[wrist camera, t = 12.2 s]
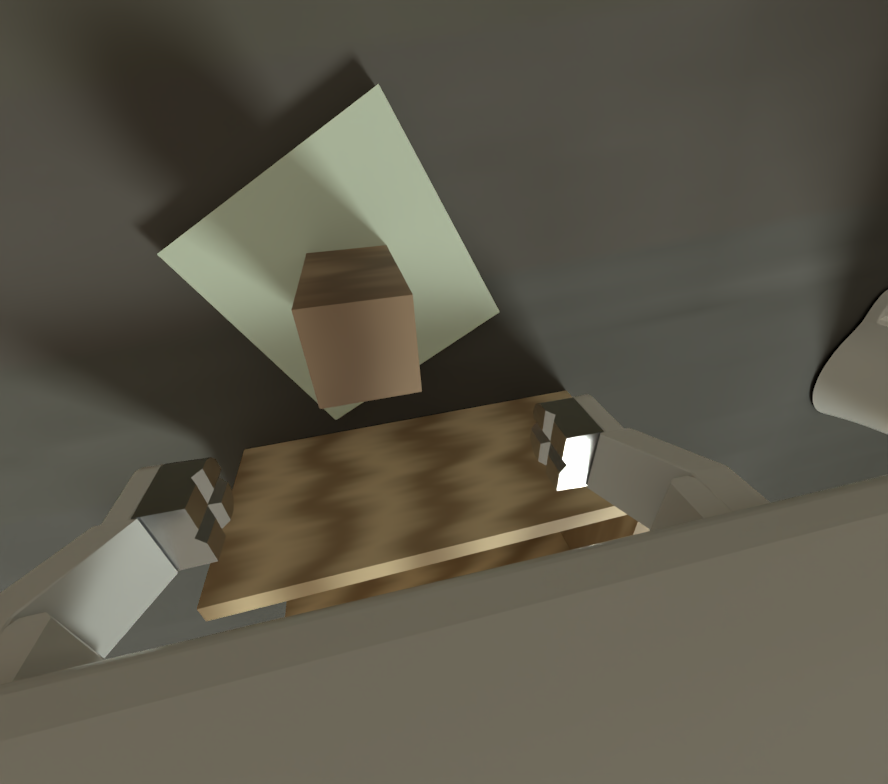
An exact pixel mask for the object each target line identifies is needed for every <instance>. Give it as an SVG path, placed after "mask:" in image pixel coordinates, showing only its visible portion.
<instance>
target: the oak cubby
mask: <svg viewBox="0 0 888 784" xmlns="http://www.w3.org/2000/svg"><path fill="white" fill-rule="evenodd" d="M570 397H572V396H571V395H570V394H569V393H568V392H567V391H560V392H555V393H550V394H544V395H539V396H533V397H528V398H522V399H517V400H511V401H506V402H501V403H495V404H490V405H484V406H479V407H473V408H468V409H463V410H457V411H452V412H446V413H441V414H435V415H430V416H424V417H419V418H414V419H408V420H403V421H397V422H392V423H386V424H381V425H375V426H370V427H365V428H359V429H354V430H348V431H343V432H337V433H332V434H326V435H321V436H316V437H310V438H305V439H299V440H294V441H288V442H283V443H277V444H272V445H267V446H261V447H256V448H250V449H245V450H244V452H243V456H242V459H241V463H240V466H239V469H238V473H237V476H236V479H235V483H234V486H233V489H232V494H233V498H234V509H233V514H232V517H231V520H230V521H229V522H228V523H227V524H226V525H225V526H224V527H223V528H222V530H223V532H224V533H225V535H226V538H225V541H224V544H223V548H222V551H221V554H220V558H219V561H217V562H213V563H210V567H209V570H208V573H207V577H206V580H205V583H204V587H203V590H202V593H201V597H200V600H199V604H198V607H197V610H198V611H199V613H200V614H201V615H202V616H203V618H204V619H205V620H206V621H210V620H214V619H218V618H222V617H225V616H229V615H233V614H237V613H241V612H245V611H249V610H253V609H257V608H261V607H265V606H269V605H273V604H277V603H281V602H285V601H287V605H286V614H285V617H288V616H292V615H297V614H301V613H305V612H309V611H314V610H318V609H322V608H326V607H331V606H335V605H339V604H343V603H347V602H352V601H356V600H360V599H364V598H369V597H373V596H377V595H381V594H386V593H390V592H394V591H398V590H403V589H407V588H411V587H415V586H420V585H424V584H428V583H432V582H437V581H441V580H445V579H449V578H454V577H458V576H462V575H466V574H471V573H475V572H479V571H483V570H487V569H492V568H496V567H500V566H504V565H509V564H513V563H517V562H521V561H525V560H530V559H534V558H538V557H542V556H546V555H551V554H555V553H559V552H563V551H567V550H572V549H576V548H580V547H584V546H589V545H593V544H597V543H601V542H606V541H610V540H614V539H618V538H623V537H627V536H631V535H635V534H640V533H644V532H648V531H649V528H647V527H646V526H644V525H643V524H641V523H640V522H638V521H636V520H635V519H633V518H632V517H630V516H629V515H627V514H626V513H624V512H623V511H621V510H620V509H618V508H617V507H615V506H614V505H612V504H611V503H609V502H608V501H606V500H605V499H603V498H602V497H600V496H599V495H597V494H596V493H594V492H593V491H591V490H590V489H588V488H587V486H583V487H577V488H571V489H566V490H560V491H556V489H555V488H554V486H553V484H552V483H551V481H550V480H549V478H548V476H547V475H546V473H545V472H546V465H544V464H542V463H541V462H539V461H538V460H537V458H536V457H535V455H534V452H533V450H532V447H531V440H530V434H531V428H532V427H533V426H534V424H535V423H536V420H535V419H534V417H533V408H534V406H535V404H537V403H543V402H549V401H555V400H561V399H567V398H570Z"/></svg>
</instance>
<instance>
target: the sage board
mask: <svg viewBox="0 0 888 784" xmlns="http://www.w3.org/2000/svg"><path fill="white" fill-rule="evenodd" d="M383 245H387V247H388V249H389V251H390V253H391V254H392V256H393V258H394V260H395V262H396V264H397V266H398V268H399V270H400V271H401V273H402V275H403V277H404V279H405V281H406V283H407V285H408V287H409V288H410V290H411V292H412V294H413V302H414V313H415V323H416V334H417V345H418V355H419V365H420V364H422V363H423V362H425V361H426V360H428V359H429V358H431V357H432V356H434V355H435V354H437V353H439V352H440V351H442V350H443V349H445V348H446V347H448V346H449V345H451V344H452V343H454V342H455V341H457V340H458V339H460V338H461V337H463V336H464V335H466V334H467V333H469V332H470V331H472V330H473V329H475V328H476V327H478V326H479V325H481V324H482V323H484V322H485V321H487V320H488V319H490V318H492V317H493V316H495V315H496V314H498V313H499V310H498V308H497V306H496V304H495V302H494V300H493V298H492V297H491V295H490V293H489V291H488V289H487V287H486V285H485V283H484V281H483V280H482V278H481V276H480V274H479V272H478V270H477V268H476V266H475V265H474V263H473V261H472V259H471V257H470V255H469V253H468V251H467V249H466V248H465V246H464V244H463V242H462V240H461V238H460V236H459V234H458V233H457V231H456V229H455V227H454V225H453V223H452V221H451V219H450V217H449V216H448V214H447V212H446V210H445V208H444V206H443V204H442V202H441V201H440V199H439V197H438V195H437V193H436V191H435V189H434V187H433V186H432V184H431V182H430V180H429V178H428V176H427V174H426V172H425V170H424V169H423V167H422V165H421V163H420V161H419V159H418V157H417V155H416V154H415V152H414V150H413V148H412V146H411V144H410V142H409V140H408V138H407V137H406V135H405V133H404V131H403V129H402V127H401V125H400V123H399V122H398V120H397V118H396V116H395V114H394V112H393V110H392V108H391V106H390V105H389V103H388V101H387V99H386V97H385V95H384V93H383V91H382V90H381V88H380V86H379V84H378V85H376V86H375V87H374V88H372V89H371V90H370V91H368V92H367V93H366V94H365V95H363V96H362V97H361V98H359V99H358V100H357V101H355V102H354V103H353V104H352V105H350V106H349V107H348V108H346V109H345V110H344V111H342V112H341V113H340V114H339V115H337V116H336V117H335V118H333V119H332V120H331V121H329V122H328V123H327V124H326V125H324V126H323V127H322V128H320V129H319V130H318V131H316V132H315V133H314V134H313V135H311V136H310V137H309V138H307V139H306V140H305V141H303V142H302V143H301V144H300V145H298V146H297V147H296V148H294V149H293V150H292V151H290V152H289V153H288V154H287V155H285V156H284V157H283V158H281V159H280V160H279V161H277V162H276V163H275V164H274V165H272V166H271V167H270V168H268V169H267V170H266V171H264V172H263V173H262V174H261V175H259V176H258V177H257V178H255V179H254V180H253V181H251V182H250V183H249V184H248V185H246V186H245V187H244V188H242V189H241V190H240V191H238V192H237V193H236V194H235V195H233V196H232V197H231V198H229V199H228V200H227V201H225V202H224V203H223V204H221V205H220V206H219V207H218V208H216V209H215V210H214V211H212V212H211V213H210V214H208V215H207V216H206V217H205V218H203V219H202V220H201V221H199V222H198V223H197V224H195V225H194V226H193V227H192V228H190V229H189V230H188V231H186V232H185V233H184V234H182V235H181V236H180V237H179V238H177V239H176V240H175V241H173V242H172V243H171V244H169V245H168V246H167V247H166V248H164V249H163V250H162V251H160V252H159V253H158V254H157V255H158V256H159V257H161V258H162V259H163V260H164V261H165V262H166V263H167V264H168V265H169V266H170V267H171V268H172V269H173V270H175V271H176V272H177V273H178V274H179V275H180V276H181V277H182V278H183V279H184V280H185V281H186V282H187V283H189V284H190V285H191V286H192V287H193V288H194V289H195V290H196V291H197V292H198V293H199V294H200V295H202V296H203V297H204V298H205V299H206V300H207V301H208V302H209V303H210V304H211V305H212V306H213V307H214V308H216V309H217V310H218V311H219V312H220V313H221V314H222V315H223V316H224V317H225V318H226V319H227V320H228V321H230V322H231V323H232V324H233V325H234V326H235V327H236V328H237V329H238V330H239V331H240V332H241V333H242V334H244V335H245V336H246V337H247V338H248V339H249V340H250V341H251V342H252V343H253V344H254V345H255V346H256V347H258V348H259V349H260V350H261V351H262V352H263V353H264V354H265V355H266V356H267V357H268V358H269V359H271V360H272V361H273V362H274V363H275V364H276V365H277V366H278V367H279V368H280V369H281V370H282V371H283V372H285V373H286V374H287V375H288V376H289V377H290V378H291V379H292V380H293V381H294V382H295V383H296V384H297V385H299V386H300V387H301V388H302V389H303V390H304V391H305V392H306V393H307V394H308V395H309V396H310V397H311V398H313V399H314V400H315V401H316V402H317V398H316V395H315V391H314V388H313V384H312V381H311V377H310V374H309V370H308V367H307V363H306V360H305V356H304V353H303V349H302V346H301V342H300V339H299V335H298V331H297V328H296V324H295V321H294V317H293V314H292V310H291V309H292V306H293V302H294V298H295V294H296V291H297V287H298V283H299V279H300V275H301V272H302V268H303V264H304V260H305V257H306V253H314V252H324V251H334V250H343V249H353V248H363V247H373V246H383ZM317 403H318V402H317ZM361 403H363V402H359V403H353V404H348V405H342V406H336V407H330V408H324V410H325V411H327V412H328V413H329V414H330V415H331V416H332V417H333V418H334V419H335V420H337V419H339V418H340V417H342V416H343V415H345V414H346V413H348V412H349V411H351V410H352V409H354V408H355V407H357V406H358V405H360V404H361Z"/></svg>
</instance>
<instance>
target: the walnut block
mask: <svg viewBox="0 0 888 784" xmlns="http://www.w3.org/2000/svg"><path fill="white" fill-rule="evenodd" d="M291 310H292V314H293V317H294V321H295V324H296V328H297V331H298V335H299V339H300V342H301V346H302V349H303V353H304V356H305V360H306V363H307V367H308V370H309V374H310V377H311V381H312V384H313V388H314V391H315V395H316V398H317V402H318V405H319V409H324V408H330V407H336V406H342V405H348V404H353V403H359V402H365V401H371V400H377V399H382V398H388V397H394V396H400V395H406V394H412V393H417V392H422V387H421V376H420V366H419V355H418V345H417V334H416V323H415V313H414V302H413V294H412V292H411V290H410V288H409V287H408V285H407V283H406V281H405V279H404V277H403V275H402V273H401V271H400V270H399V268H398V266H397V264H396V262H395V260H394V258H393V256H392V254H391V253H390V251H389V249H388V247H387V245H383V246H373V247H363V248H353V249H343V250H334V251H324V252H314V253H306V257H305V260H304V264H303V268H302V272H301V275H300V279H299V283H298V287H297V291H296V294H295V298H294V302H293V306H292V309H291Z"/></svg>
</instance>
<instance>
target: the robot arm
mask: <svg viewBox="0 0 888 784" xmlns="http://www.w3.org/2000/svg"><path fill="white" fill-rule="evenodd" d="M813 404H814V407H815V408H816V410H818V411H819V412H821V413H824V414H828V415H832V416H836V417H839V418H843V419H846V420H849V421H852V422H855V423H858V424H861V425H864V426H867V427H870V428H872V429H875V430H878V431H880V432H883V433H885V434H888V290H886V291H885V292H884V293H883V294H882V295H881V296H880V297H879V298H878V299H877V301H876V302H875V303H874V305H873V306H872V308H871V309H870V311H869V312H868V314H867V315H866V317H865V318H864V320H863V321H862V322H861V324H860V325H859V326H858V327H857V328H856V329H855V330H854V331H853V332H852V333H851V334H850V336H849V337H848V338H847V339H846V340H845V341H844V342H843V343H842V344H841V345H840V346H839V347H838V349H837V350H836V351H835V352H834V354H833V355H832V356H831V358H830V359H829V360H828V362H827V363H826V365H825V366H824V368H823V370H822V371H821V373H820V375H819V377H818V379H817V382H816V384H815V387H814V391H813ZM533 417H534V419H535V420H536V423H535V424H534V426H533V427H532V428H531V434H530V440H531V447H532V450H533V452H534V455H535V457H536V458H537V460H538V461H539V462H541V463H542V464H544V465H546V472H545V473H546V475H547V476H548V478H549V480H550V481H551V483H552V484H553V486H554V488H555V489H556V491H560V490H566V489H571V488H577V487H583V486H587V488H588V489H590V490H591V491H593V492H594V493H596V494H597V495H599V496H600V497H602V498H603V499H605V500H606V501H608V502H609V503H611V504H612V505H614V506H615V507H617V508H618V509H620V510H621V511H623V512H624V513H626V514H627V515H629V516H630V517H632V518H633V519H635V520H636V521H638V522H640V523H641V524H643V525H644V526H646V527H647V528H649V529H650V531H648V532H644V533H640V534H635V535H631V536H627V537H623V538H618V539H614V540H610V541H606V542H601V543H597V544H593V545H589V546H584V547H580V548H576V549H572V550H567V551H563V552H559V553H555V554H551V555H546V556H542V557H538V558H534V559H530V560H525V561H521V562H517V563H513V564H509V565H504V566H500V567H496V568H492V569H487V570H483V571H479V572H475V573H471V574H466V575H462V576H458V577H454V578H449V579H445V580H441V581H437V582H432V583H428V584H424V585H420V586H415V587H411V588H407V589H403V590H398V591H394V592H390V593H386V594H381V595H377V596H373V597H369V598H364V599H360V600H356V601H352V602H347V603H343V604H339V605H335V606H331V607H326V608H322V609H318V610H314V611H309V612H305V613H301V614H297V615H292V616H288V617H284V618H280V619H275V620H271V621H267V622H263V623H258V624H254V625H250V626H246V627H242V628H237V629H233V630H229V631H225V632H220V633H216V634H212V635H208V636H203V637H199V638H195V639H191V640H186V641H182V642H178V643H174V644H170V645H165V646H161V647H157V648H153V649H148V650H144V651H140V652H136V653H131V654H127V655H123V656H119V657H114V658H110V659H104V658H105V657H106V656H107V655H108V653H109V652H110V651H111V650H112V649H113V648H114V646H115V645H116V644H117V643H118V642H119V641H120V639H121V638H122V637H123V636H124V635H125V634H126V632H127V631H128V630H129V629H130V628H131V627H132V626H133V624H134V623H135V622H136V621H137V620H138V619H139V617H140V616H141V615H142V614H143V613H144V612H145V610H146V609H147V608H148V607H149V606H150V605H151V603H152V602H153V601H154V600H155V599H156V598H157V597H158V595H159V594H160V593H161V592H162V591H163V590H164V588H165V587H166V586H167V585H168V584H169V583H170V581H171V580H172V579H173V578H174V577H175V576H176V575H177V573H178V572H177V571H179V570H183V569H187V568H192V567H196V566H200V565H204V564H209V563H213V562H217V561H219V558H220V554H221V551H222V548H223V544H224V541H225V538H226V535H225V533H224V532H223V530H222V528H223V527H224V526H225V525H226V524H227V523H228V522H229V521H230V520H231V517H232V514H233V509H234V498H233V494H232V490H231V487H230V485H229V483H228V482H227V481H225V480H223V479H221V478H219V474H220V471H221V468H220V466H219V464H218V462H217V461H216V459H214V458H211V457H209V458H202V459H195V460H188V461H181V462H174V463H167V464H164V465H156V466H149V467H143V468H140V469H139V470H137V471H135V473H134V474H133V476H132V477H131V479H130V480H129V482H128V483H127V485H126V487H125V488H124V490H123V491H122V493H121V494H120V496H119V498H118V499H117V501H116V502H115V504H114V505H113V507H112V508H111V510H110V512H109V513H108V515H107V516H106V518H105V519H104V521H103V522H102V524H101V525H99V526H94V527H92V528H90V529H89V530H87V531H86V532H85V533H83V534H82V535H80V536H79V537H78V538H76V539H75V540H73V541H72V542H71V543H69V544H68V545H67V546H65V547H64V548H62V549H61V550H60V551H58V552H57V553H55V554H54V555H53V556H51V557H50V558H49V559H47V560H46V561H44V562H43V563H42V564H40V565H39V566H37V567H36V568H35V569H33V570H32V571H30V572H29V573H28V574H26V575H25V576H24V577H22V578H21V579H19V580H18V581H17V582H15V583H14V584H12V585H11V586H10V587H8V588H7V589H5V590H4V591H3V592H1V593H0V784H888V475H885V476H881V477H876V478H872V479H868V480H864V481H860V482H855V483H851V484H847V485H843V486H839V487H834V488H830V489H826V490H822V491H818V492H813V493H809V494H805V495H801V496H797V497H792V498H788V499H784V500H780V501H775V502H771V503H770V502H769V501H768V500H766V499H765V498H764V497H763V496H762V495H761V494H759V493H758V492H757V491H756V490H755V489H753V488H752V487H751V486H750V485H749V484H747V483H746V482H745V481H744V480H743V479H742V478H740V477H739V476H738V475H737V474H736V473H734V472H733V471H732V470H731V469H730V468H729V467H727V466H725V465H723V464H720V463H718V462H715V461H713V460H710V459H707V458H705V457H702V456H700V455H697V454H695V453H692V452H690V451H687V450H685V449H682V448H679V447H677V446H674V445H672V444H669V443H667V442H664V441H662V440H659V439H656V438H654V437H651V436H649V435H646V434H644V433H641V432H639V431H636V430H634V429H631V428H626V429H624V428H623V427H622V426H621V425H620V424H619V423H618V422H617V421H616V420H615V419H614V418H613V417H612V416H611V415H610V414H609V413H608V412H607V411H606V410H605V409H604V408H603V407H602V406H601V405H600V404H599V403H598V402H597V401H596V400H595V399H594V398H593V397H592V396H591V395H588V394H585V395H580V396H575V397H570V398H567V399H561V400H555V401H549V402H543V403H537V404H535V406H534V408H533Z"/></svg>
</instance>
